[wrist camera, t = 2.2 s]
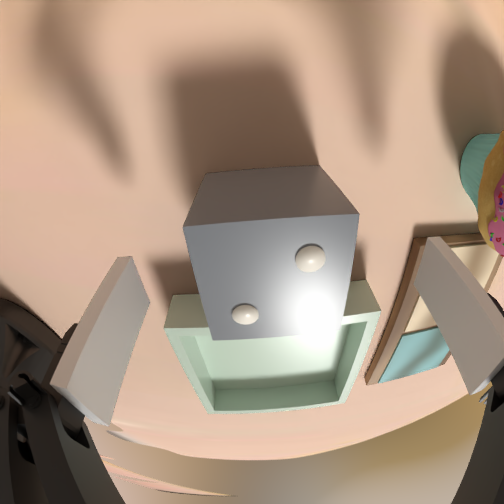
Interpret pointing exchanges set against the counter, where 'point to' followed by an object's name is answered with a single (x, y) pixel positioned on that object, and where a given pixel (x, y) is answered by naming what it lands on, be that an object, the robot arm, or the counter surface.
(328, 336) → the tray
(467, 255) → the board
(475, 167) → the cupcake
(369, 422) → the counter surface
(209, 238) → the die
